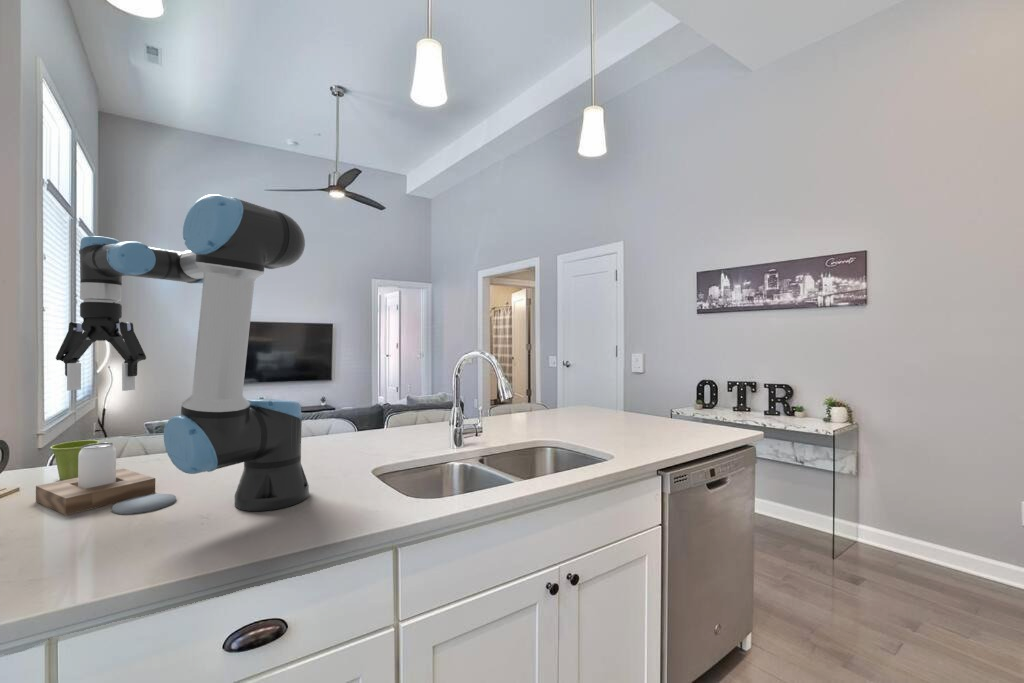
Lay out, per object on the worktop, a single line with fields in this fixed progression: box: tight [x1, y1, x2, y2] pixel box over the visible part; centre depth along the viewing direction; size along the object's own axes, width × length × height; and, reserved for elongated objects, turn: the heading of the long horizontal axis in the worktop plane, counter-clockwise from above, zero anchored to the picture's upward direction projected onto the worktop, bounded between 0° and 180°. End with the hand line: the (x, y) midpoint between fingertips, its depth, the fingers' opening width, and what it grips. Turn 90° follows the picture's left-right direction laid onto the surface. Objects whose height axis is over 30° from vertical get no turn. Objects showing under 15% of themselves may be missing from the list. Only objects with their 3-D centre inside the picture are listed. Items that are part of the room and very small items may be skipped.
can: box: [78, 442, 117, 489], centre depth 106 cm, size 6×6×12 cm
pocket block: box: [35, 468, 156, 516], centre depth 106 cm, size 16×16×4 cm
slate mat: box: [111, 493, 177, 515], centre depth 101 cm, size 11×11×1 cm
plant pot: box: [50, 439, 101, 481], centre depth 120 cm, size 9×9×9 cm
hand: (101, 390), depth 110 cm, fingers open, 13 cm apart
